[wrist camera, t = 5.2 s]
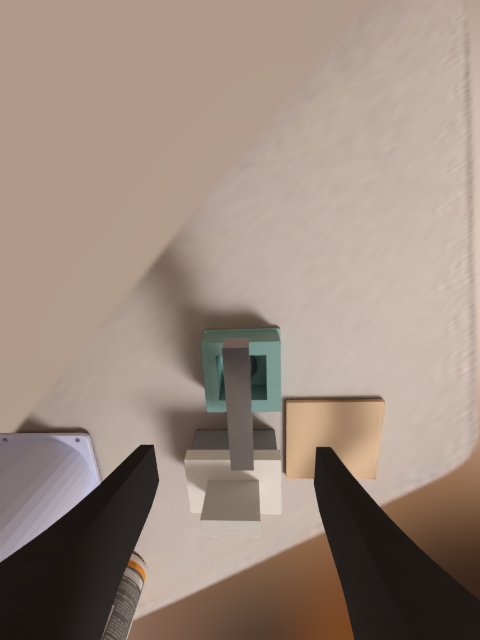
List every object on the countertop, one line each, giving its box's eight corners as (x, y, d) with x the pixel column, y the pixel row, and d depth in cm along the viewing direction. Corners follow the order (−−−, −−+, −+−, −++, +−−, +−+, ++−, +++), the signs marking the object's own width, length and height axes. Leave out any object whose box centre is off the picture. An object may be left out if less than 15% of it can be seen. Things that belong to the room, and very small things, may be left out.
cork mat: (285, 474, 23) (286, 478, 23) (286, 400, 21) (286, 402, 21) (373, 475, 23) (375, 479, 22) (382, 398, 21) (385, 401, 20)
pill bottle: (97, 544, 27) (12, 703, 18) (148, 550, 27) (91, 714, 17) (101, 579, 29) (25, 743, 19) (150, 584, 29) (98, 753, 19)
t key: (258, 406, 21) (260, 470, 15) (232, 407, 21) (224, 470, 15) (255, 315, 19) (256, 347, 13) (226, 317, 19) (214, 348, 13)
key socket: (210, 396, 21) (204, 414, 19) (204, 329, 20) (197, 340, 17) (280, 395, 21) (283, 413, 19) (279, 327, 19) (283, 338, 17)
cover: (193, 501, 21) (180, 556, 18) (187, 449, 20) (171, 497, 16) (280, 502, 21) (286, 558, 17) (279, 449, 20) (286, 498, 16)
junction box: (201, 474, 24) (195, 499, 21) (196, 430, 22) (190, 451, 20) (275, 474, 23) (277, 500, 21) (274, 429, 22) (277, 451, 20)
